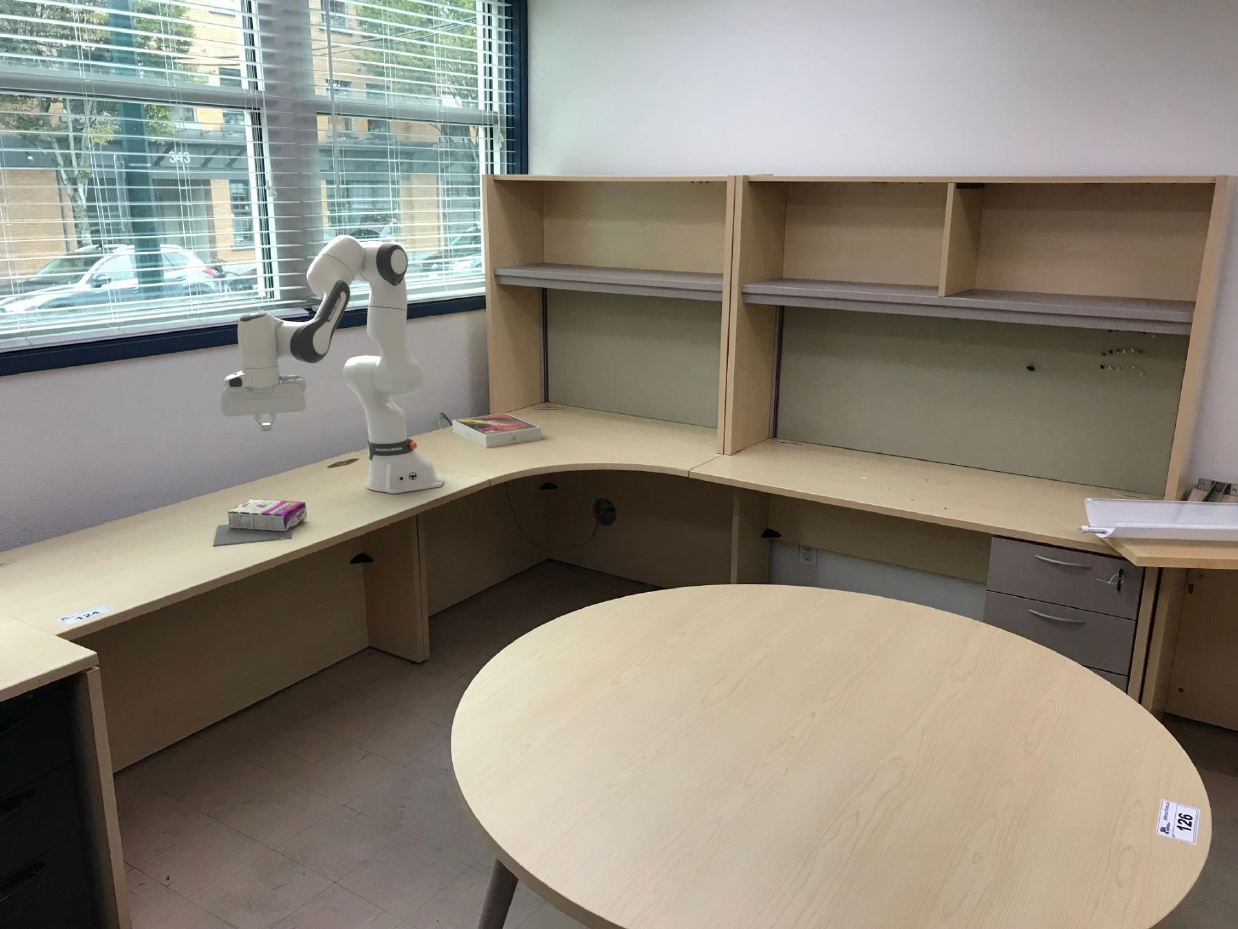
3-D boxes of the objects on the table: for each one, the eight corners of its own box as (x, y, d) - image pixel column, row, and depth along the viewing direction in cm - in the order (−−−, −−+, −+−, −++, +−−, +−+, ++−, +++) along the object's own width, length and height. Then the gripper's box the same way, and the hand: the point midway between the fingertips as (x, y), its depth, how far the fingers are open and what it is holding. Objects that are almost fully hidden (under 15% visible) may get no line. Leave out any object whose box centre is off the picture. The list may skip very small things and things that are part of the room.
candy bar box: (307, 519, 261) (253, 515, 264) (306, 501, 259) (251, 497, 263) (285, 533, 250) (228, 528, 254) (283, 515, 249) (226, 510, 252)
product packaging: (486, 449, 335) (485, 435, 334) (453, 433, 358) (452, 420, 357) (541, 440, 347) (540, 427, 345) (505, 426, 370) (505, 413, 368)
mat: (291, 519, 262) (291, 518, 262) (291, 538, 247) (291, 537, 247) (218, 526, 256) (217, 525, 256) (213, 546, 242) (213, 545, 242)
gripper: (304, 372, 249) (309, 424, 252) (219, 377, 243) (225, 431, 246) (304, 376, 243) (309, 430, 247) (217, 381, 237) (223, 436, 241)
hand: (267, 430), depth 246 cm, fingers closed
